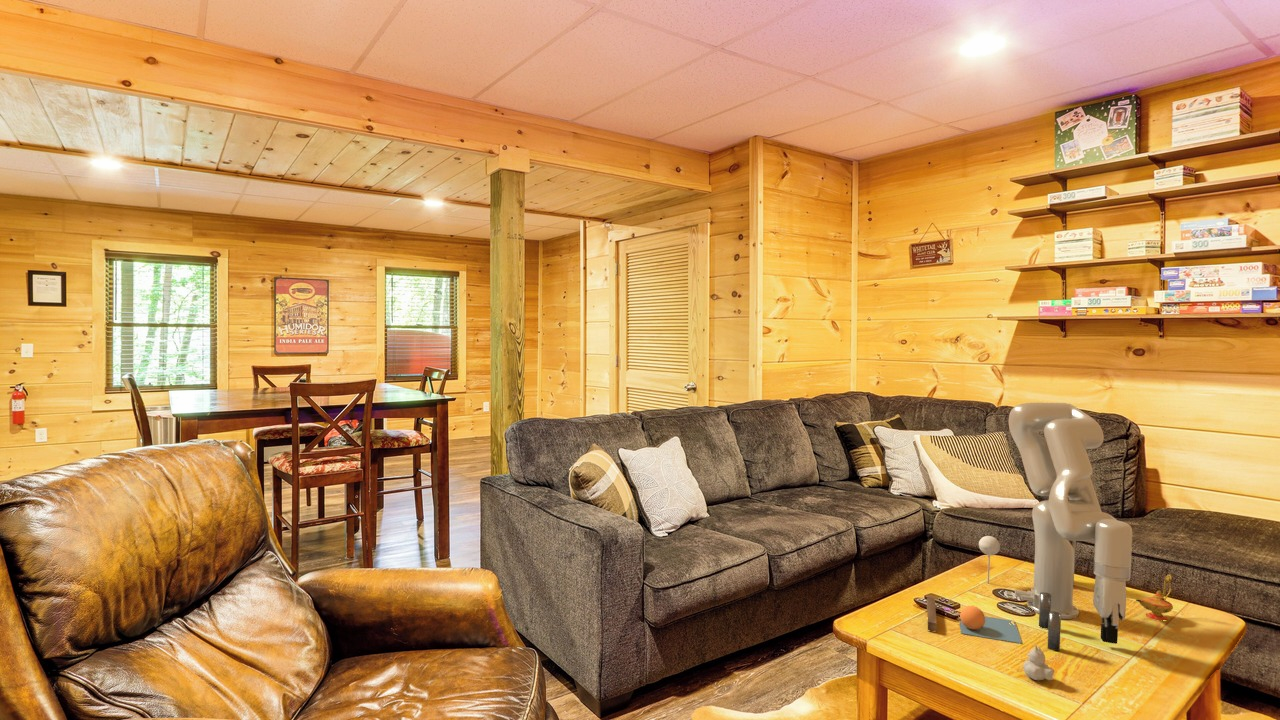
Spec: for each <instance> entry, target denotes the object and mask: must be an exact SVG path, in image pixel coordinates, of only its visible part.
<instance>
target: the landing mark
mask: <svg viewBox="0 0 1280 720" xmlns="http://www.w3.org/2000/svg"><path fill="white" fill-rule="evenodd" d="M984 616H985V624H984V626H983V627H982V628H980V629H978V630H972V629H969V628H967V627H966V626H964V624H963V623H962V622H961V621H959V620H958V622H959V623H960V624H959V630H961V631H960V634H961V633H962V634H961V635H967V636H972V637H978V638H979V637H980V638H983V639H990V640H997V641H1001V640H1003V641H1002V642H1007V641H1008V643H1013V642H1015V644H1019V643H1020V645H1022V644H1023V642H1022V640H1021V636H1020V633H1019V630H1018V627H1017V624H1016V622H1015V623H1014V624H1015V625H1016V626H1015V625H1013V624H1012V623H1011V621H1013V620H1011V619H1005V618H1001V617H1000V618H999V617H992V616H986V615H984ZM1009 623H1010V624H1011V625H1010V624H1009Z"/></svg>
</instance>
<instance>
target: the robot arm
mask: <svg viewBox="0 0 1280 720" xmlns="http://www.w3.org/2000/svg"><path fill="white" fill-rule="evenodd" d="M1008 427H1009V428H1008V429H1009V432H1010V435H1011V437H1012V439H1013V442H1014V443H1015V445H1016V447H1017V449H1018V450H1019V453H1020V457H1021V460H1022V464H1023V465H1022V466H1023V468H1024V471H1025V475H1026V479H1027V481H1028V485H1029V487H1030V489H1031V491H1032V492H1033V494H1035V495H1037V496H1041V497H1048V499H1047V500H1046V499H1045V500H1041V501H1039V502H1037V503H1035V505H1034V506H1033V508H1032V510H1031V511H1032V513H1031V517H1032V524H1033V528H1034V571H1033V574H1034V575H1033V587H1030V590H1027V591H1025V590H1020V589H1014V597H1017V598H1020V600H1021V601H1022V600H1023V601H1026V606H1027V605H1028V606H1029V607H1030V608H1031V609H1032V610H1031V609H1030V608H1029V607H1028V606H1027V607H1028V608H1029V609H1030V610H1031V611H1033V610H1034V611H1033V612H1034V613H1037V614H1039V606H1040V593H1041V592H1046V593H1049V594H1051V611H1054V612H1058V613H1060V614H1061V620H1063V619H1064V620H1067V619H1068V620H1069V619H1071V620H1072V619H1075V618H1077V617H1078V616H1079V613H1080V610H1079V609H1078V608H1077V607H1076V606H1075V605H1073V603H1074V602H1073V596H1074V584H1073V580H1074V581H1075V566H1074V549H1073V547H1072V545H1071V544H1070V542H1069V541H1076V542H1094V550H1093V551H1094V554H1093V556H1094V557H1093V574H1094V575H1095V580H1094V588H1093V599H1092V604H1093V607H1094V609H1095V610H1096V612H1097V613H1098V614H1099V616H1100V617H1101V621H1100V622H1101V624H1100V639H1101V641H1102V642H1103V643H1108V644H1115V645H1116V644H1118V640H1119V639H1118V637H1119V635H1118V634H1119V627H1120V626H1119V624H1120V623H1119V622H1120V621H1124V620H1125V619H1126V609H1127V607H1126V606H1127V589H1126V588H1127V587H1126V586H1127V585H1126V582H1128V581H1130V580H1131V569H1132V566H1131V565H1132V551H1133V550H1132V546H1133V528H1132V526H1131V525H1130V524H1129V523H1127V522H1124V521H1122V520H1117V519H1116V518H1115V517H1114V516H1112V514H1109V513H1107V512H1104V511H1102V509H1101V505H1100V502H1099V500H1098V496H1097V493H1096V490H1095V487H1094V484H1093V481H1092V478H1091V476H1092V474H1093V472H1094V470H1093V467H1092V464H1091V461H1090V458H1089V455H1088V452H1087V450H1090V449H1091V450H1092V449H1098V448H1099V447H1101V446H1102V444H1103V442H1104V437H1105V436H1104V432H1103V429H1102V427H1101V426H1100V424H1099V423H1098V422H1097V421H1096V420H1095V419H1094V418H1093V417H1091V416H1090V415H1089V414H1087V413H1085V412H1084V411H1083V410H1081V409H1080V408H1078V407H1076V406H1075V405H1072V404H1070V403H1066V402H1025V403H1020V404H1017V405H1015V406H1014V407H1013V408H1011V410H1010V412H1009V415H1008ZM1039 432H1043V434H1044V437H1043V436H1042V435H1041V434H1039ZM1068 540H1069V541H1068ZM1119 620H1120V621H1119Z"/></svg>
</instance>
